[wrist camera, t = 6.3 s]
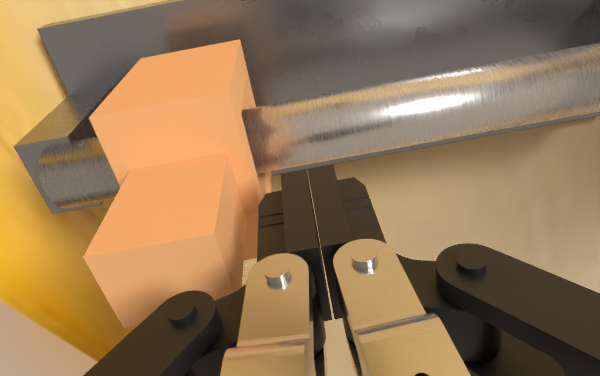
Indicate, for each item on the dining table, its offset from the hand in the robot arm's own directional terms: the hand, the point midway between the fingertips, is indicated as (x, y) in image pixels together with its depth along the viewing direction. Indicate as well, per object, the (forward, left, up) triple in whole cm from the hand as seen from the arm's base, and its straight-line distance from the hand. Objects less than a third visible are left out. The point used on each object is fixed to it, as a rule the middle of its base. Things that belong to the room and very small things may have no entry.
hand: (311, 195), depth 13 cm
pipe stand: (-3, 0, -10) cm, 10 cm away
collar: (+4, 0, -7) cm, 8 cm away
